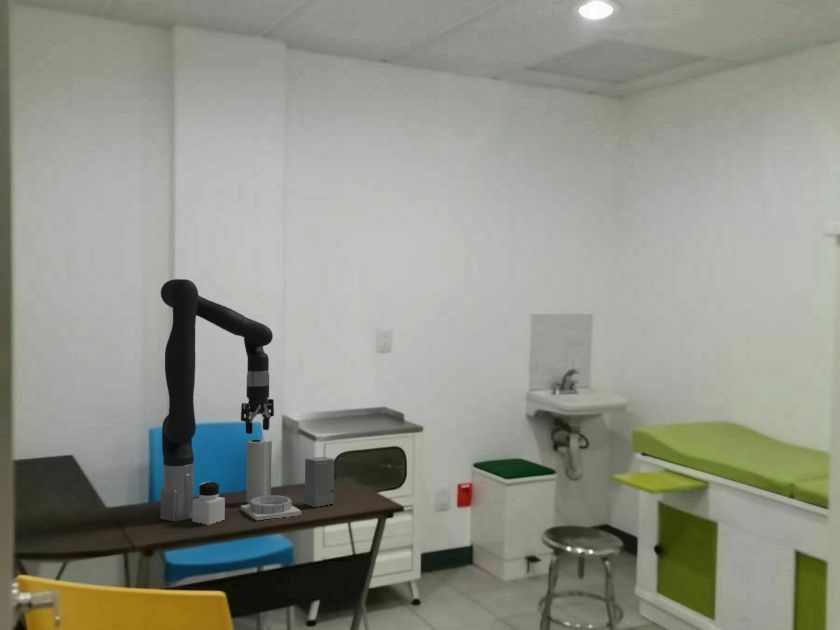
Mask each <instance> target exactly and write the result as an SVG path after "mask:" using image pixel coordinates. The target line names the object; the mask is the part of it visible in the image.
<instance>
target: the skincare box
mask: <svg viewBox="0 0 840 630" xmlns="http://www.w3.org/2000/svg"><path fill="white" fill-rule="evenodd" d="M304 466H305V467H304V505H306V504H307V505H306V506H309V507H311V506H312V508H314V507H317V508H320V507H319V506H323V507H326V506H325V505H328V506H331V505H330V504H333V505H334V504H335V503H334V502H335V458H331V457H327V456H320V457H318V456H317V457H307V458H305V459H304Z"/></svg>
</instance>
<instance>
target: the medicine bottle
mask: <svg viewBox="0 0 840 630" xmlns="http://www.w3.org/2000/svg"><path fill="white" fill-rule="evenodd" d="M225 502H226V498H225V497H221V496H220V485H219V483H218V482H215V481H205V482H201V483H199V485H198V497H197V498H193V514H192V518H191V520H192V523H196V522H197V524H200V523H202V524H201V525H205V524H206V525H205V526H211V525H213V523H214V524H217V523H216V522H218V523H220V521H221V522H223V521H222V520H224V521H225V518H226V517H225V516H226V511H225V510H226V503H225ZM210 524H211V525H210Z"/></svg>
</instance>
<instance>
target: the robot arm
mask: <svg viewBox="0 0 840 630" xmlns="http://www.w3.org/2000/svg"><path fill="white" fill-rule="evenodd" d="M160 297H161V299H162V301H163V303H164V304H165V305H167V306H168V307H170V308H172V327H171V330H170V332H169V336H168V339H167V341H166V346H165V348H164V349H165V350H164V373H165V381H166V387H167V393H168V398H169V400H168V402H169V405H168V407H169V408H168V414H167V415H166V416H165V418H164V419H163V421H162V426H161V427H162V428H161V452H162V453H161V454H162V458H163V467H162V468H163V469H162V476H163V477H162V488H160V509H159V510H160V516H159V517H160V518H159V519H161V520H165V521H169V522H170V521H171V522H179V521H186V520H189V519H192V514H193V499H194V473H195V472H194V469H195V468H194V467H195V466H194V465H195V464H194V463H195V462H194V460H195V458H194V457H195V456H194V455H195V454H194V451H193V437H194V436H195V435H196V430H197V424H196V416H195V404H194V395H195V394H194V393H195V383H196V382H195V381H196V324H197V323H196V322H197V321H196V319H197V317H199V318H200V319H203V320H206V322H207V321H208V322H209V323H211V324H213V325H214V326H216V327H218V328H220V329H222V330H225V331H226V332H228V333H230V334H232V335H234V336H237V337H238V336H239V337H242V338H243V342H244V343H243V344H244V348H245V352H246V357H247V371H246V373H247V374H246V398H247V399H248V402H242V403H241V407H240V421H241V422H244V423H245V433H246V434H247V435H252V434H253V432H254V431H253V429H254V428H253V421H254V419H255V418H256V416H257V415H261V417H262V430H263V431H269V430H270V420H271V417H274V416H275V409H274V407H275V406H274V405H275V403H274V401H275V400H274V399H273V398H270V373H269V372H270V371H269V369H270V368H269V364H270V363H269V361H270V360H269V355H268V354H267V353H266V352H265V350H264V346H268V345H269V344H270V343H271V342H272V341H273V337H274V335H273V331H272V329H270V327H269V326H268V325H266V324H263V323H262V322H259V321H257V320H254V319H251V318H248V317H246V316H245V315H243V314H241V313H239V312H237V311H236V310H234V309H232V308H231V307H227V306H225V305H223V304H220V303H218V302H215V301H212V300H209V299H207V298H205V297H203V296H201V295H199V291H198V288H197V286H196V284H195V283H194V282H193V281H192V280H189V279H185V278H174V279H170V280H168V281H166V282H165V283H163V285H162V286H161V289H160Z"/></svg>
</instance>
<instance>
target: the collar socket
mask: <svg viewBox="0 0 840 630" xmlns="http://www.w3.org/2000/svg"><path fill="white" fill-rule="evenodd" d="M292 503H293V502H292V498H290V497H288V496H284V495H271V496H260V497H256V498H253V499H251V501H250V504H243V505H242V504H241V505H240V510H241V509H242V510H243V511H245V512H246V513H247V514H249V515H250V516H252V517H253V518H254V519H255V520H263V519H271V518H279V519H283V518H282V517H286V518H292V517H291V516H294V517H299V516H298V515H301V516H302V510H300V509H299V508H297V506H295V505H293V504H292ZM242 510H241V511H242ZM243 511H242V512H243ZM246 513H245V514H246ZM247 514H246V515H247ZM250 516H249V517H250ZM253 518H252V519H253ZM254 519H253V520H254ZM255 520H254V521H255ZM271 520H272V519H271Z"/></svg>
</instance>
